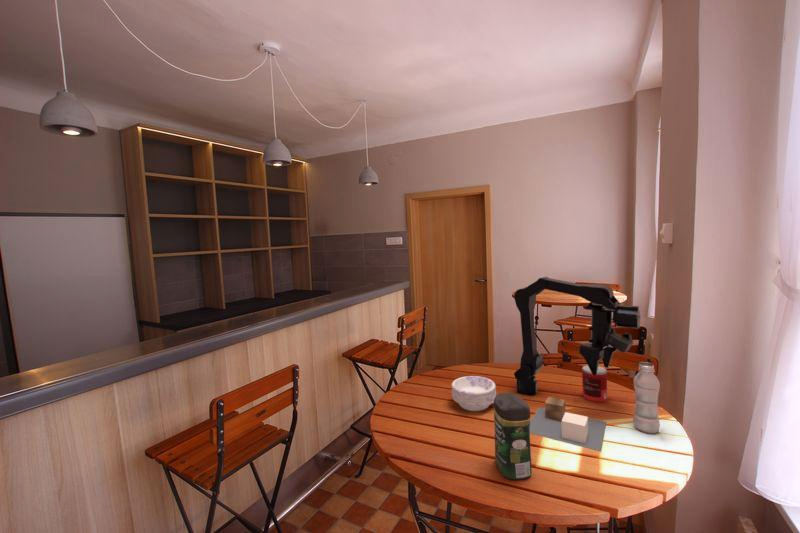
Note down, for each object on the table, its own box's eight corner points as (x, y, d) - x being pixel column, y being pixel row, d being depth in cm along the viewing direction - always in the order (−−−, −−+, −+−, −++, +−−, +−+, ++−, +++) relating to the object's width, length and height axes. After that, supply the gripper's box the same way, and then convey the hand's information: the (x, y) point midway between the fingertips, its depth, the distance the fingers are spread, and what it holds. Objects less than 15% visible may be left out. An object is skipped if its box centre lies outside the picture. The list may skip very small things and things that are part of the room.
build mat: (524, 433, 106) (524, 431, 106) (538, 408, 121) (538, 407, 121) (601, 453, 95) (601, 451, 95) (606, 423, 109) (606, 421, 109)
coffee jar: (491, 458, 95) (489, 390, 93) (520, 456, 95) (518, 388, 94) (504, 483, 85) (502, 407, 84) (536, 480, 85) (535, 405, 84)
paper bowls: (447, 412, 121) (446, 389, 121) (457, 394, 135) (457, 373, 135) (493, 418, 116) (492, 395, 115) (498, 399, 130) (498, 377, 129)
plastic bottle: (655, 426, 107) (655, 361, 105) (663, 438, 100) (664, 369, 99) (630, 423, 109) (630, 359, 108) (636, 435, 102) (637, 367, 101)
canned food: (600, 394, 130) (600, 364, 129) (611, 404, 122) (611, 372, 121) (578, 394, 131) (578, 364, 130) (588, 404, 123) (587, 373, 122)
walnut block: (545, 417, 113) (545, 402, 113) (548, 411, 117) (548, 396, 117) (562, 421, 111) (562, 406, 110) (565, 415, 115) (565, 399, 114)
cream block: (561, 437, 102) (561, 420, 102) (565, 428, 107) (565, 412, 106) (585, 443, 98) (585, 426, 98) (587, 433, 103) (587, 416, 103)
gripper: (617, 334, 103) (616, 386, 104) (640, 323, 115) (639, 370, 116) (578, 327, 112) (577, 376, 113) (603, 317, 123) (602, 361, 124)
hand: (600, 371), depth 116 cm, fingers open, 9 cm apart
